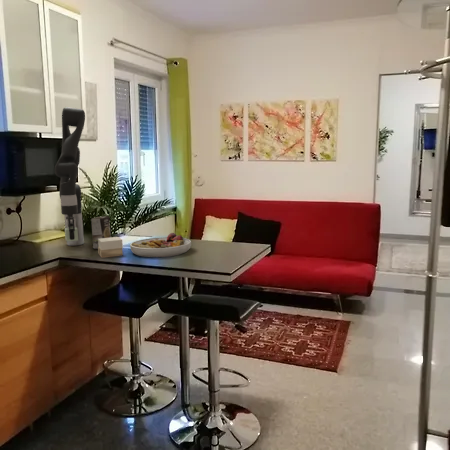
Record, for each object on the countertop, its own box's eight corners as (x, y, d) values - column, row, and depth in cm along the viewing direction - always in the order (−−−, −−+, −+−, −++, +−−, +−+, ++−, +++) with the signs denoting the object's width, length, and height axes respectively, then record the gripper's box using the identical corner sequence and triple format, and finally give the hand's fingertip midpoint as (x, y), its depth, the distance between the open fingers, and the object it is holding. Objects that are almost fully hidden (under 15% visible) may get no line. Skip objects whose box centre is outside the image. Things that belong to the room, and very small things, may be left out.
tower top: (98, 246, 230) (98, 238, 230) (118, 244, 234) (118, 236, 234) (101, 250, 221) (101, 241, 221) (122, 247, 225) (122, 239, 225)
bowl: (174, 260, 212) (174, 243, 211) (118, 257, 223) (117, 241, 221) (200, 247, 240) (200, 232, 239) (149, 245, 250) (149, 231, 249)
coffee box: (104, 248, 243) (102, 218, 240) (92, 248, 244) (90, 218, 242) (111, 245, 252) (109, 216, 249) (100, 245, 253) (98, 216, 251)
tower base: (98, 254, 231) (97, 246, 230) (118, 252, 235) (118, 244, 234) (101, 258, 222) (101, 250, 221) (122, 256, 225) (122, 248, 225)
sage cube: (65, 239, 229) (64, 228, 228) (77, 238, 231) (76, 227, 231) (66, 241, 224) (65, 230, 223) (78, 240, 226) (77, 229, 226)
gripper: (78, 205, 220) (81, 240, 223) (75, 202, 233) (78, 235, 236) (62, 206, 217) (64, 241, 220) (59, 203, 230) (62, 236, 233)
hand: (71, 238), depth 228 cm, fingers closed on sage cube, 5 cm apart
